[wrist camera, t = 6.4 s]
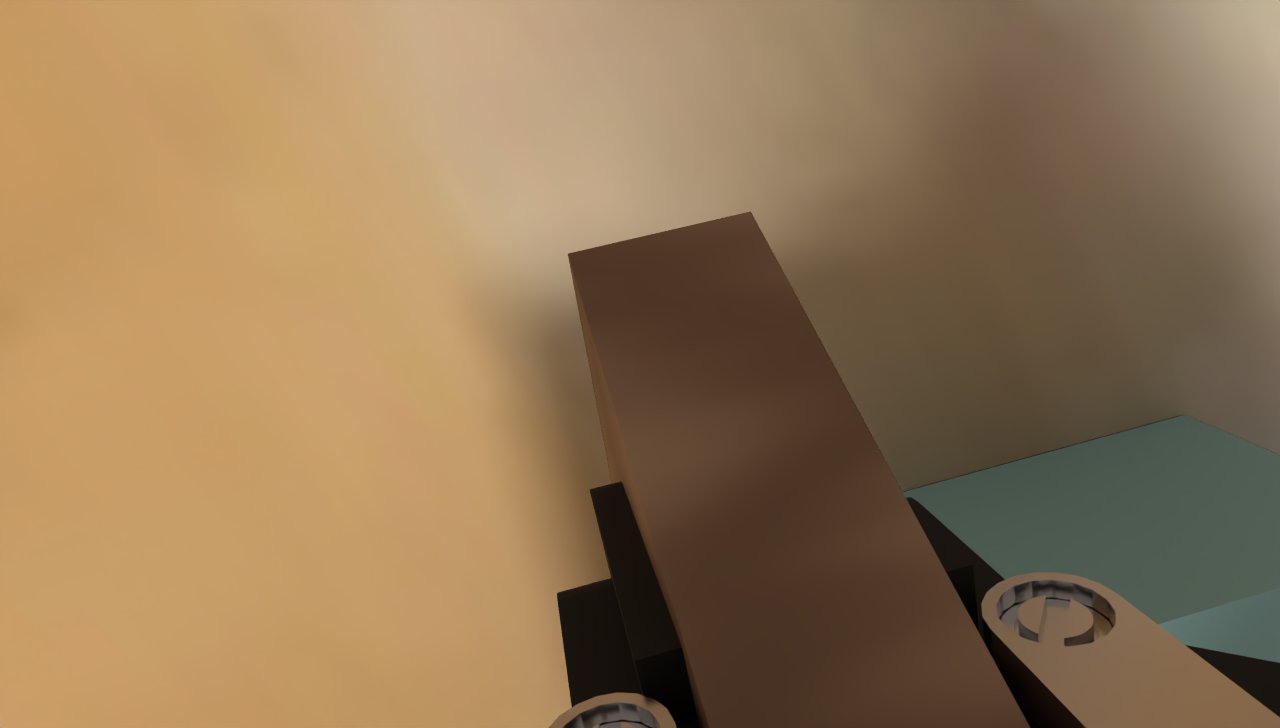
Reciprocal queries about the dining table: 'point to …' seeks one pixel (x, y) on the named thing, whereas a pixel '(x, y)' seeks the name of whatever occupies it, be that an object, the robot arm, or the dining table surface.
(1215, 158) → the dining table surface
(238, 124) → the dining table surface
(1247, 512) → the box
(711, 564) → the wood-grain rectangular block
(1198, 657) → the robot arm
